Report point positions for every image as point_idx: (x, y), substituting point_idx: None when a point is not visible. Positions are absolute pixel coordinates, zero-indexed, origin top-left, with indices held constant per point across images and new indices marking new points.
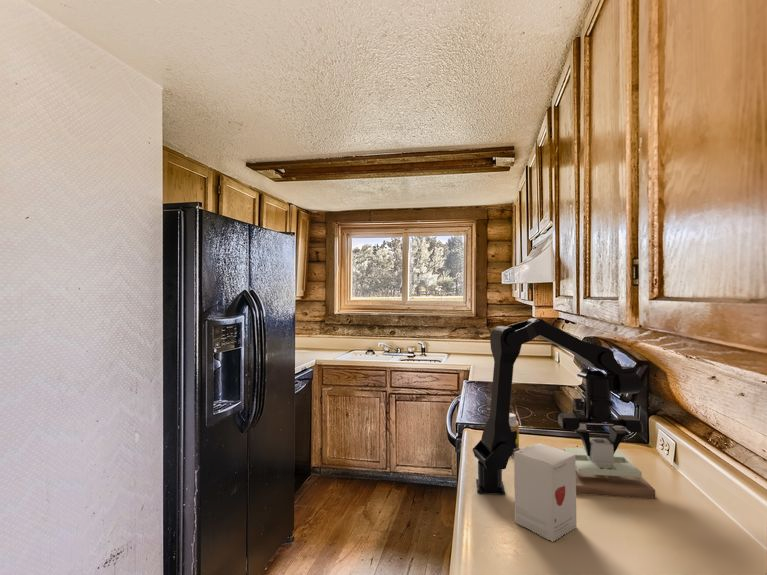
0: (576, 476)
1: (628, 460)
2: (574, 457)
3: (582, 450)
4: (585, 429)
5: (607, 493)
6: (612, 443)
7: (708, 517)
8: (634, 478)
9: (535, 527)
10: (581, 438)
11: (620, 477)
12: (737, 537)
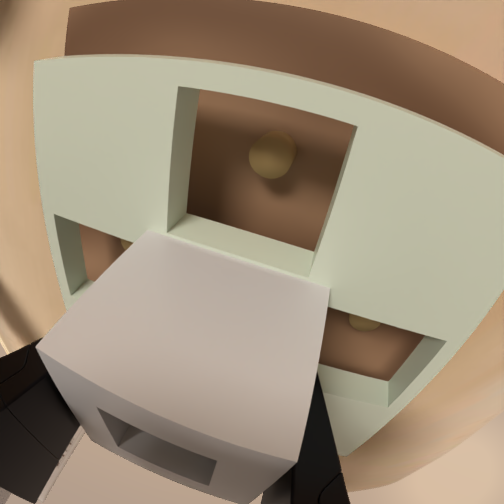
0: None
1: (423, 381)
2: (43, 498)
3: (146, 124)
4: (4, 494)
5: None
6: (266, 498)
7: (409, 452)
8: (383, 365)
9: None
10: (11, 367)
11: (321, 346)
12: (382, 477)
